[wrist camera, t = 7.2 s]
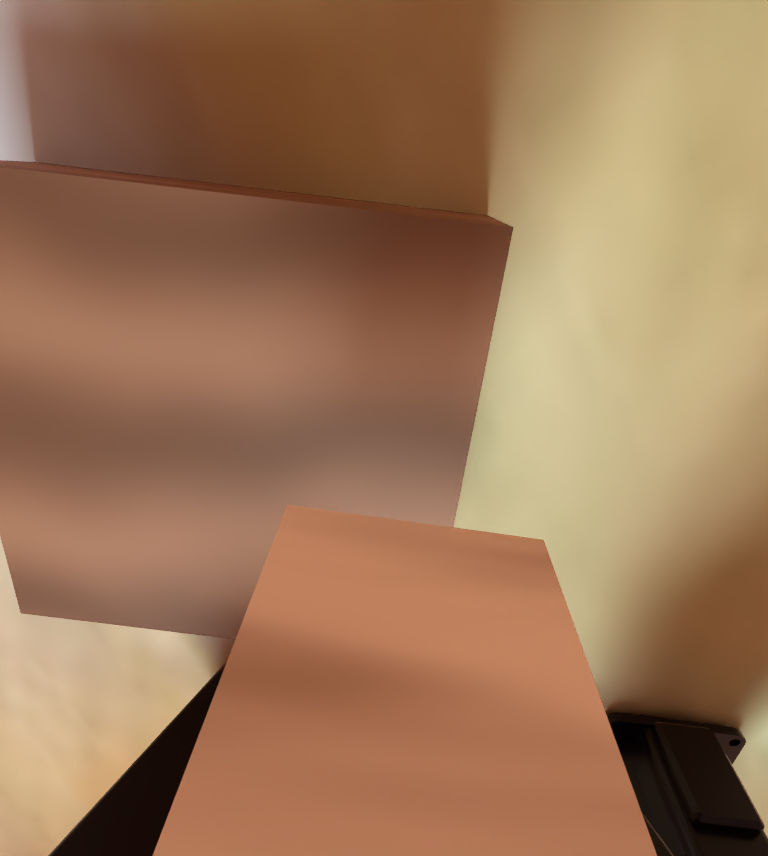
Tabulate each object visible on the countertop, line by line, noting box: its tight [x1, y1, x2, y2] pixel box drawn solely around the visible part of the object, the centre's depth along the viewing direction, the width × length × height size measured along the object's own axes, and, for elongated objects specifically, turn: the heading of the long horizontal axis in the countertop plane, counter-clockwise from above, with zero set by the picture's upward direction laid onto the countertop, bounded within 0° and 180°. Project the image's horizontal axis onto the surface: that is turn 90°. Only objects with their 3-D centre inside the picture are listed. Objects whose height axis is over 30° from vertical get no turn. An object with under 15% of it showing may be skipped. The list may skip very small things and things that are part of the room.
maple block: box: [153, 505, 657, 856], centre depth 7 cm, size 4×4×6 cm
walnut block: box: [0, 160, 513, 639], centre depth 17 cm, size 14×14×5 cm
